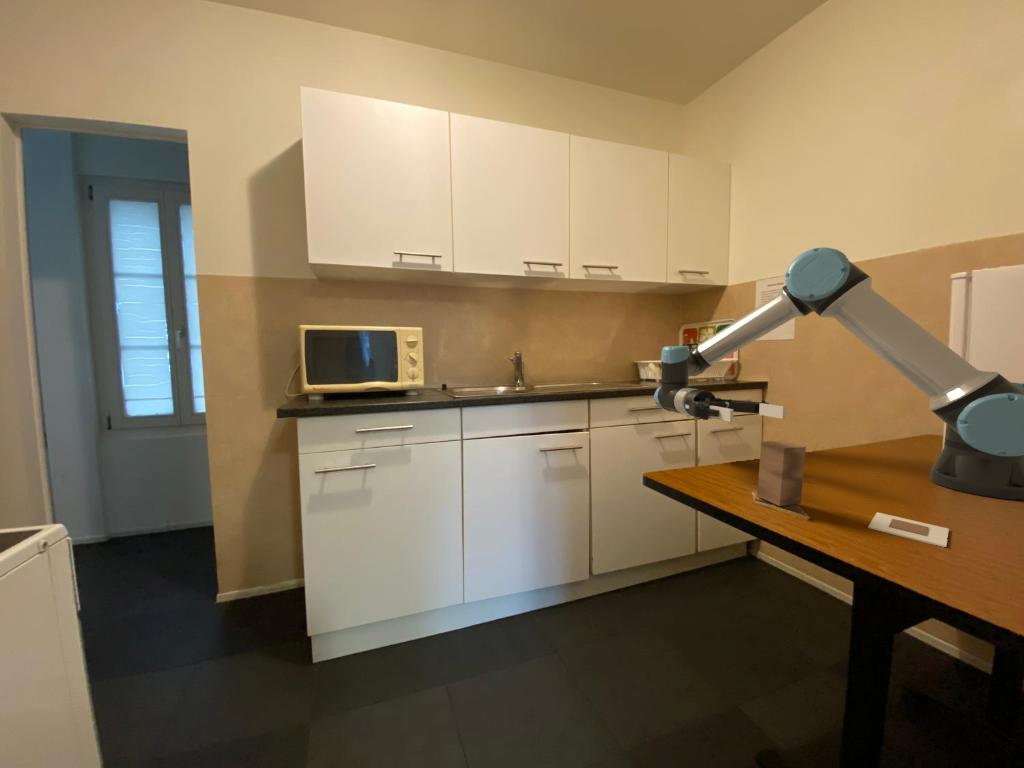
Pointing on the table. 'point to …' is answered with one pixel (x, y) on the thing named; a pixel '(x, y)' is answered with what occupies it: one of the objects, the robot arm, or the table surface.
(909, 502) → the table surface
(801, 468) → the walnut block
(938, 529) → the swatch
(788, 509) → the shard
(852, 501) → the table surface
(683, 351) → the robot arm
